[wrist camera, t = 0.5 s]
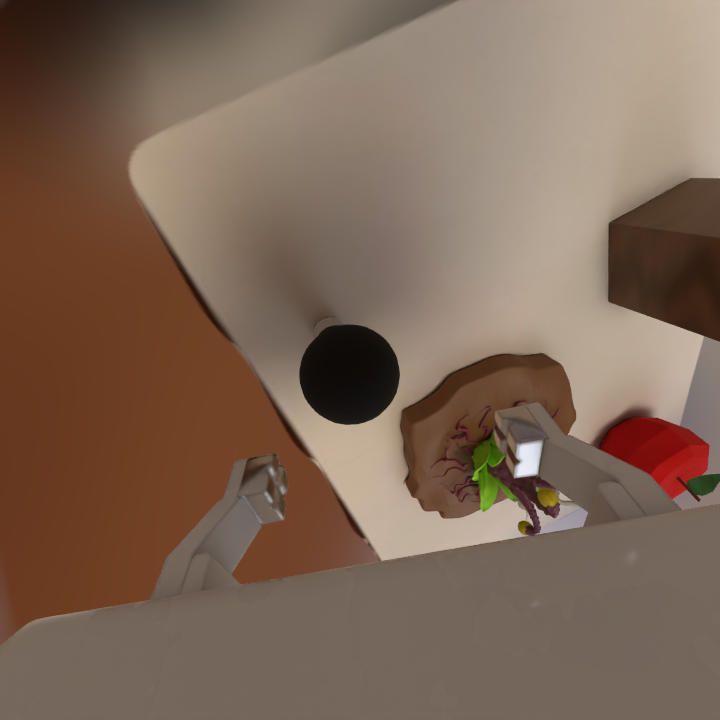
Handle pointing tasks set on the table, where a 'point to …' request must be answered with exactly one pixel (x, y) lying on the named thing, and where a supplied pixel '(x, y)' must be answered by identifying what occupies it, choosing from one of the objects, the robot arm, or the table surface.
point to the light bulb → (348, 372)
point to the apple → (663, 454)
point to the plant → (482, 437)
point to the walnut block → (671, 258)
